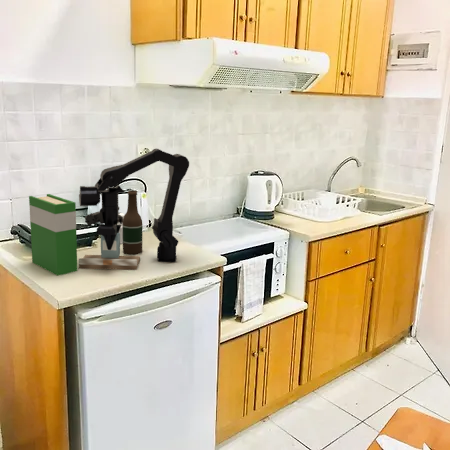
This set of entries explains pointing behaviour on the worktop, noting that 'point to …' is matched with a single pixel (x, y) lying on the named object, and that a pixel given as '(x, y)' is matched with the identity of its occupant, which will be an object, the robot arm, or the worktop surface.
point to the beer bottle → (132, 227)
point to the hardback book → (53, 234)
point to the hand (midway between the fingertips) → (110, 247)
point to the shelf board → (109, 262)
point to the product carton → (114, 251)
